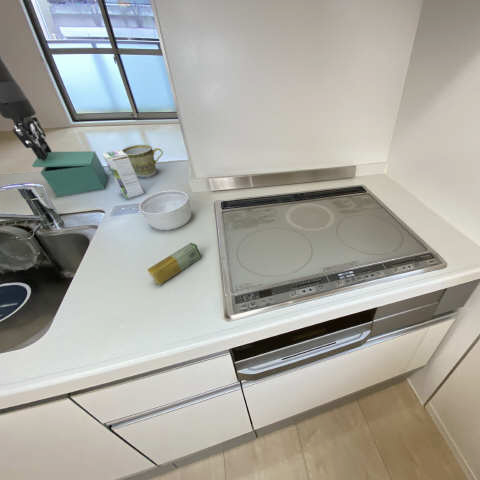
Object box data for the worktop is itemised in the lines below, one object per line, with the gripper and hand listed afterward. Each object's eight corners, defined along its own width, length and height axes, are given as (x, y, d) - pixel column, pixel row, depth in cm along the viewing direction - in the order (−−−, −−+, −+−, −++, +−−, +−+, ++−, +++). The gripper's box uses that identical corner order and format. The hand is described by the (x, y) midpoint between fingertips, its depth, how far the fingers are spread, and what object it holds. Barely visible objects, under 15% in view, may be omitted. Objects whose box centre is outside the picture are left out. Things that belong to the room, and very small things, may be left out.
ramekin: (145, 237, 74) (135, 217, 69) (150, 212, 83) (141, 193, 79) (195, 228, 78) (188, 208, 73) (194, 205, 87) (188, 187, 83)
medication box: (195, 253, 70) (191, 241, 67) (202, 256, 68) (197, 244, 66) (153, 281, 61) (145, 269, 59) (159, 285, 60) (152, 273, 58)
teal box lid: (33, 167, 82) (24, 150, 78) (42, 154, 89) (35, 138, 86) (91, 165, 88) (85, 150, 85) (95, 153, 96) (90, 139, 93)
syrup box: (121, 193, 92) (100, 153, 82) (139, 187, 95) (120, 148, 86) (127, 199, 89) (106, 158, 80) (145, 193, 92) (127, 153, 83)
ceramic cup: (131, 181, 99) (119, 155, 92) (133, 170, 105) (122, 146, 99) (169, 175, 103) (160, 151, 97) (169, 165, 110) (160, 142, 103)
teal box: (57, 196, 89) (40, 172, 83) (64, 182, 96) (49, 159, 91) (104, 188, 94) (91, 165, 88) (107, 175, 102) (95, 153, 96)
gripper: (0, 93, 78) (36, 149, 89) (-20, 104, 68) (23, 165, 79) (33, 92, 81) (64, 146, 92) (18, 103, 71) (55, 162, 82)
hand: (45, 155), depth 85 cm, fingers closed on teal box lid, 5 cm apart
